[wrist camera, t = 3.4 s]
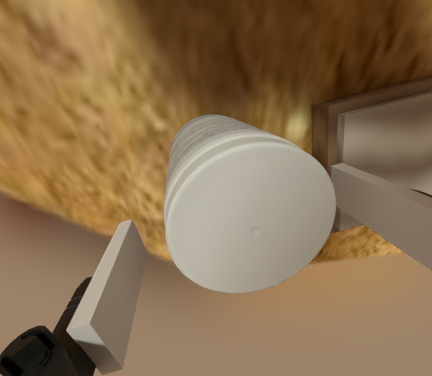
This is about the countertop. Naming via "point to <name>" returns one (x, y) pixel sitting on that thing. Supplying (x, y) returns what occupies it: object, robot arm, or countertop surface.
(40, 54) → the countertop surface
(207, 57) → the countertop surface
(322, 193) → the supplement tub
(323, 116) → the plinth
